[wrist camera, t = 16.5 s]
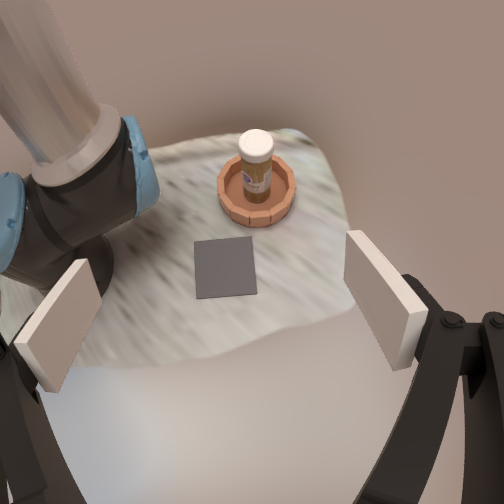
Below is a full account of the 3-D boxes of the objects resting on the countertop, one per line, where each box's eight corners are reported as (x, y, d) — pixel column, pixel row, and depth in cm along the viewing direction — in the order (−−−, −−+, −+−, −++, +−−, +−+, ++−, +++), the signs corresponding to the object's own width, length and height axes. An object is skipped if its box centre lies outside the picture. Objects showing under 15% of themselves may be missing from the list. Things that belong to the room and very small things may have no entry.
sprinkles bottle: (237, 196, 51) (231, 146, 38) (252, 175, 52) (249, 123, 39) (262, 209, 50) (262, 160, 37) (276, 187, 51) (280, 136, 38)
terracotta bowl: (222, 230, 50) (219, 221, 46) (218, 167, 54) (216, 155, 50) (297, 224, 50) (300, 213, 46) (287, 162, 54) (288, 149, 50)
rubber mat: (196, 298, 46) (196, 298, 46) (194, 242, 49) (194, 241, 49) (257, 293, 46) (257, 293, 46) (251, 236, 49) (251, 236, 49)
